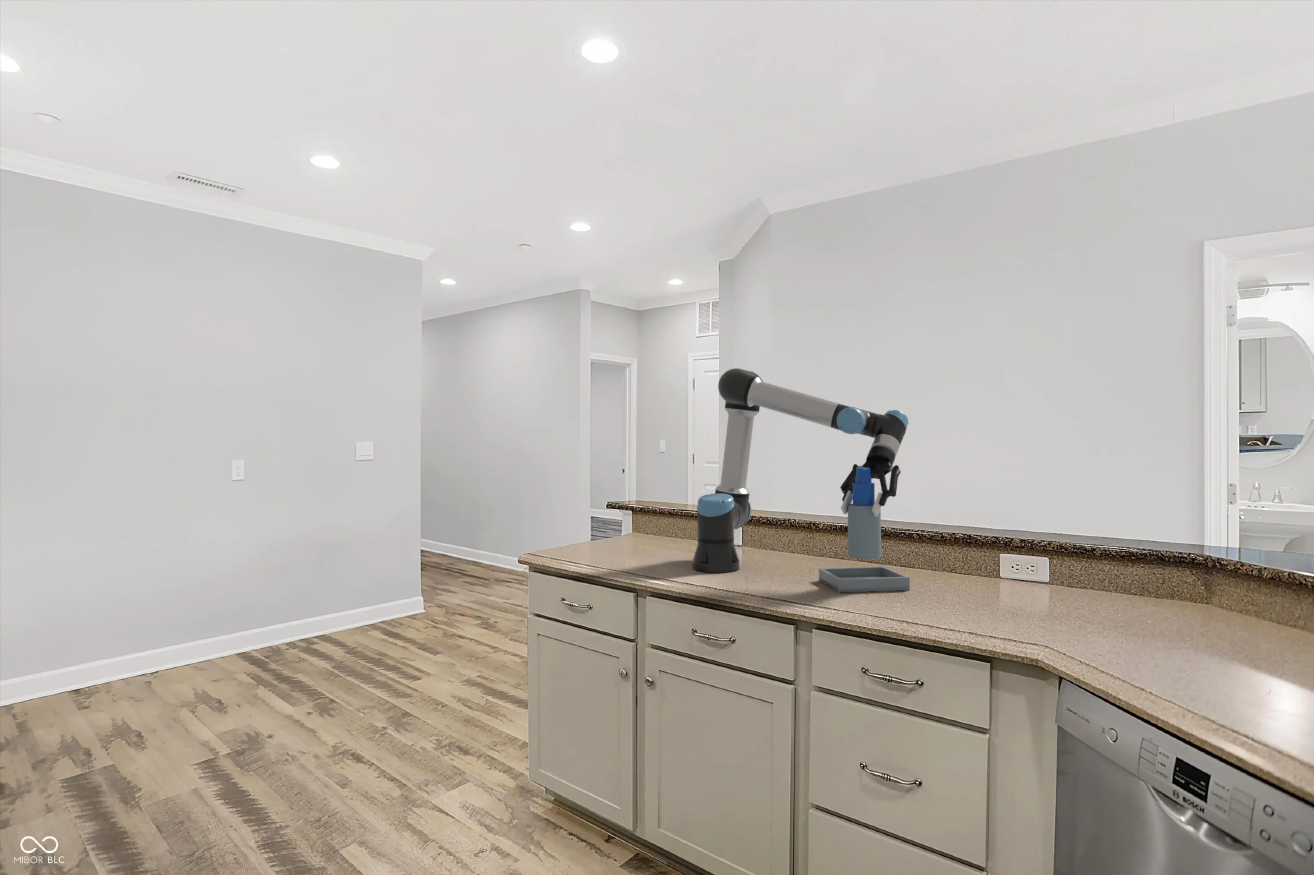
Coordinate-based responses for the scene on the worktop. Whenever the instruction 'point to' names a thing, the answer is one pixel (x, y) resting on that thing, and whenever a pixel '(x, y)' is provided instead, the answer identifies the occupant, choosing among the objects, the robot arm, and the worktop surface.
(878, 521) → the spray bottle
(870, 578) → the tray
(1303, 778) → the worktop surface
